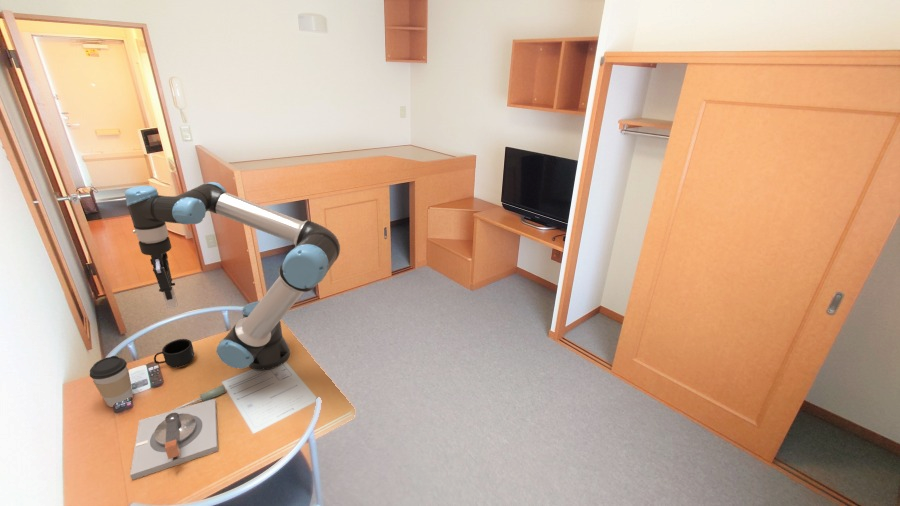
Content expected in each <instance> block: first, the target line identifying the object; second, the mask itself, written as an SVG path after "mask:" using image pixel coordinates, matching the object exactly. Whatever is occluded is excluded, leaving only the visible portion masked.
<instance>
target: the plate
mask: <svg viewBox="0 0 900 506" xmlns="http://www.w3.org/2000/svg"><path fill="white" fill-rule="evenodd" d="M171 413H178V414H183V413H186V414H190V415H192V416H193V417H194V418H195V422H196V430H195V431H194V433H193V434H192V435H191V436H190V437H189V438H188V439H187V440H185V441H184V442H182V443H180V447H179V449H180V455H179V456H176V457H173V458H171V459H168V456H167V453H166V450H165V446H161V445H159V444H158V443H157V442H156V439H155V436H154V432H155V430H156V428H157V426H158V425H159V424H160V423H161V422H163V421H164V420H165V418H166V416H167V415H169V414H171ZM217 415H218V414H217V401H216V398H211V399H209V400H207V401H204V402H202V401H201V402H197V403H193V404H191V405H188V406H186V407H184V408H180V409H177V410H173V409H172V410H170V411H167V412H162V413H160V414H156V415H152V416H150V417H146V418H142V419H139V420H138V427H137V432H136V438H135V443H134V448H133V449H134V450H133V455H132V463H131V467H130V476H129V477H130V478H131V481H134V480H136V479H140V478H143V477H145V476H148V475H151V474H154V473H158V472H161V471H163V470H166V469H169V468H172V467H175V466H178V465H180V464H184V463H186V462H189V461H192V460H195V459H198V458H201V457H204V456H207V455H210V454H213V453H216V452H218V451H219V446H218V445H219V444H218V443H219V442H218V418H217Z"/></svg>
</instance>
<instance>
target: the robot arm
mask: <svg viewBox="0 0 900 506" xmlns="http://www.w3.org/2000/svg"><path fill="white" fill-rule="evenodd" d="M124 197H125V201H126V207H127V209H128V213H129V215H130V217H131V221H132V223H133V228H134V229H133V230H132V233H133V234H136V237H137V240H138V246H139V250H140V253H141V254H142V255H145V256H150V257H151V258H150V259H149V260H150V264H151V266H152V267H153V268H152V272H153V273H154V276H155V277H156V281H157V284H158V288H159V289H158V292H161V293H162V295H163V297H164V302H165V305H166V308H167V309H171V308H176V307H178V301H177V297H176V293H175V288H174V286H176V282H173V278H172V274H171V269H170V264H169V260H168V258H169V256H168V254H167V253H168V252H169V251H170V250H172V244H171V238H170V237H169V231H168V227H167V223H170V224H171V223H172V224H181V225H197V224H200V223H202V221H203V219H205V217H206V213H207V212H211V213H213V214H216V215H218V216H222V217H224V218H227V219H229V220H232V221H235V222H237V223H240V224H243V225H245V226H247V227H250V228H253V229H255V230H257V231H261V232H264V233H265V234H266V233H267V234H268V235H271V236H273V237H277V238H280V239H281V240H283V241H287V242H289V243H292V244H294V246H295V247H294V248H293V249H291V250H290V251H289V252H288V253H287V255H286V256H285V258H284V259H283V262H282V264H281V265H280V266H279V269H278V275H279V276H278V278H277V279H276V280H275V281H274V283H272V285H271V286H270V287H269V289H268V290H267V291H266V293H264V295H263V297H262V298H261V299H260V300H257V301H252V302H250V303H247V304H245V306H244V307H243V308H242V311H241V314H242V318H240V319H239V320H237V322H236V323H235V324H234V326H233V327H232V328H231V330H230V331H229V332H228V333H227V335H226V336H225V337H224V338H223V339H222V340H220V341H219V343H218V345H217V347H216V354H217V357H218V358H219V359H220V361H221V362H222V363H223V364H225V365H227V366H229V367H231V368H234V369H240V370H242V369H246V368H248V367H249V368H251V369H252V370H257V371H259V370H260V371H266V370H271V369H275V368H277V367H279V366H281V365H282V364H284V363H285V362H286V361H287V360H288V359H289V358H290V353H291V351H290V346H289V344H288V343H287V341H286V339H285V338H284V336H283V332H282V323H281V320H282V319H283V318H284V317H285V315H286V314H287V313H288V312H289V310H291V308H292V307H293V306H294V304H295V303H296V302H297V301H299V300H298V299H300V297H301V296H302V295H303V294H304V293H309V292H311V291H313V290H314V288H316V286H317V285H319V284H320V283H321V282H322V281H323V280H324V278H326V276H327V273H328V272H329V270H330V269H331V268H332V266H333V265H334V263H335V262H336V261H337V259H338V258H339V256H340V254H341V253H340V252H341V245H340V242H339V239H338V238H337V236H336V235H335V234H334V232H332V230H330V229H328V228H327V227H325V226H323V225H321V224H319V223H316V222H314V221H312V220H309V219H307V220H304V221H302V220H300V219H298V218H294V217H292V216H289V215H286V214H284V213H281V212H279V211H276V210H274V209H271V208H269V207H266V206H263V205H261V204H259V203H258V204H257V203H255V202H253V201H250V200H247V199H244V198H242V197H239V196H237V195H235V194H232V193H229V192H227V191H226V189H225V187H223V186H222V184H220V183H218V182H215V181H209V182H207V183H202V184H200V185H199V186H196V187H194V188H192V189H190V190H187V191H184V192H183V193H180V194H178V195H175V196H174V195H173V196H170V195H169V196H167V195H159V192H158V190H157V188H156V187H155V186H152V185H140V186H139V185H136V186H133V187H129V188H128V189H126V190H125V191H124Z"/></svg>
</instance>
